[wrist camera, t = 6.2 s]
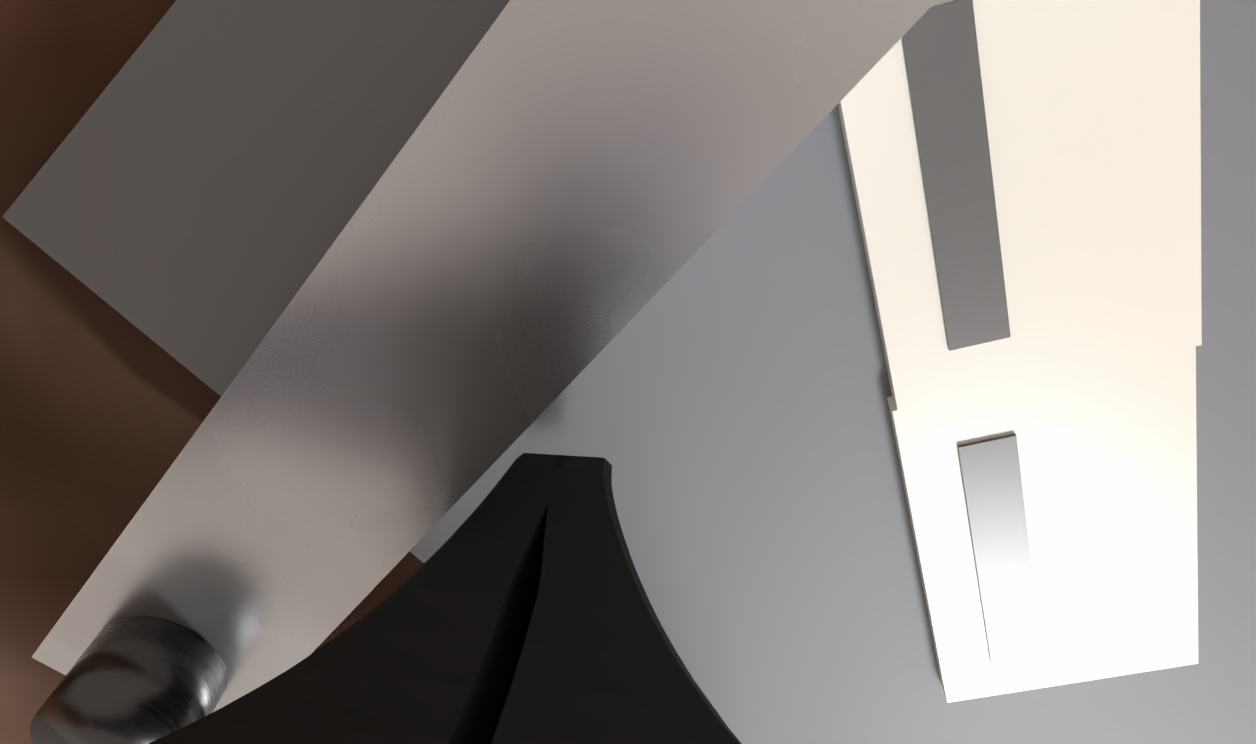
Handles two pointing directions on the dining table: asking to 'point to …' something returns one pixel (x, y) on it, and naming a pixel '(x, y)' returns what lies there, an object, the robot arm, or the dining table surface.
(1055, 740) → the board
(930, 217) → the label
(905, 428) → the label
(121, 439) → the dining table surface
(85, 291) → the dining table surface
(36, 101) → the dining table surface
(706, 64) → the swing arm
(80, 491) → the dining table surface
